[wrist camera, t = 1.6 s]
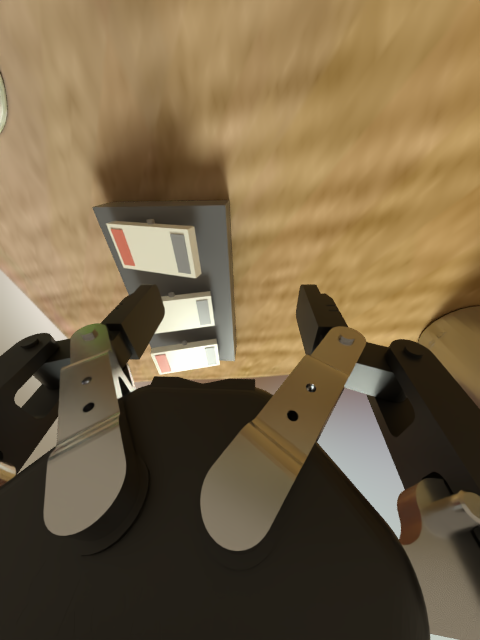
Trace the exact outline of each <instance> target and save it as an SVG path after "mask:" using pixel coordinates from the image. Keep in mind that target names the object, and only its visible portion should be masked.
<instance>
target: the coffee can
mask: <svg viewBox="0 0 480 640" xmlns="http://www.w3.org/2000/svg"><path fill="white" fill-rule="evenodd" d="M6 118H7V97H6V91H5V87H4V83H3V79H2V77H1V74H0V133H1V132H2V130H3V128H4V126H5V123H6Z"/></svg>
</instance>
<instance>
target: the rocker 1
mask: <svg viewBox="0 0 480 640" xmlns="http://www.w3.org/2000/svg"><path fill="white" fill-rule="evenodd" d="M106 225H107V227H108V230H109V232H110V235H111V237H112V240H113V242H114V245H115V247H116V250H117V252H118V255H119V257H120V260H121V262H122V265H123V268H128V269H135V270H142V271H149V272H155V273H162V274H169V275H176V276H183V277H190V278H197V277H198V276H199V275H200V274H201V267H200V261H199V254H198V248H197V241H196V234H195V228H194V226H183V225H168V224H155V221H154V219H148V220H147V223H139V222H124V221H113V222H110V223H106Z"/></svg>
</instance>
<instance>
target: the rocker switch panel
mask: <svg viewBox="0 0 480 640" xmlns="http://www.w3.org/2000/svg"><path fill="white" fill-rule="evenodd" d="M92 208H93V210H94V213H95V215H96V217H97V220H98V222H99V224H100V227H101V229H102V232H103V234H104V236H105V239H106V241H107V244H108V246H109V248H110V251H111V253H112V255H113V258H114V260H115V263H116V265H117V267H118V270H119V272H120V275H121V277H122V279H123V282H124V284H125V287H126V289H127V291H128V294H129V295H130V294H132V293H134V292H135V291H136V289H137V288H138V287H139V286H140V285H142V284H155V285H157V287H158V289H159V292H160V295H161V297H163V296H169V295H168V293H170V292H174V294H175V295H180V294H189V293H198V292H207V291H210V293H211V301H212V308H213V316H214V324H215V326H208V327H200V328H193V329H186V330H178V331H171V332H164V333H156V334H154V335H153V337H152V339H151V341H150V342H149V344H150V346H151V349H152V348H155V347H162V346H169V345H176V344H182V341H184V340H186V341H187V343H190V342H196V341H203V340H210V339H217V346H218V354H219V360H223V361H235V355H236V347H237V345H236V325H235V304H234V284H233V263H232V243H231V222H230V202H229V200H197V201H136V202H109V203H106V204H102V205H99V206H95V207H92ZM148 219H154V221H155V224H168V225H183V226H194V228H195V234H196V241H197V248H198V254H199V261H200V267H201V274H200V275H199V276H198V277H197V278H190V277H183V276H176V275H169V274H162V273H155V272H149V271H142V270H135V269H128V268H123V265H122V262H121V260H120V257H119V255H118V252H117V250H116V247H115V245H114V242H113V240H112V237H111V235H110V232H109V230H108V227H107V225H106V223H110V222H113V221H124V222H139V223H147V220H148Z"/></svg>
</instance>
